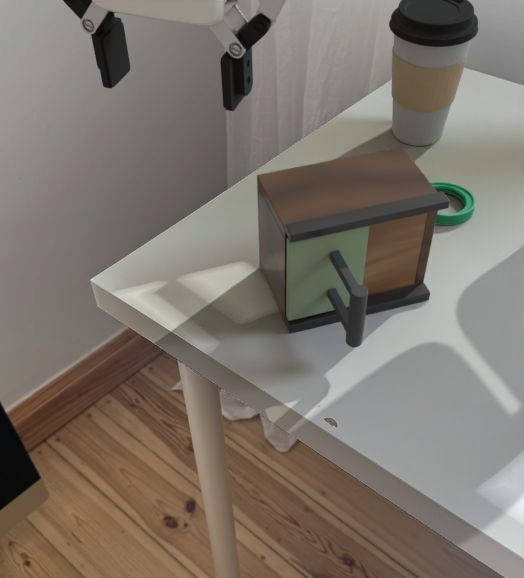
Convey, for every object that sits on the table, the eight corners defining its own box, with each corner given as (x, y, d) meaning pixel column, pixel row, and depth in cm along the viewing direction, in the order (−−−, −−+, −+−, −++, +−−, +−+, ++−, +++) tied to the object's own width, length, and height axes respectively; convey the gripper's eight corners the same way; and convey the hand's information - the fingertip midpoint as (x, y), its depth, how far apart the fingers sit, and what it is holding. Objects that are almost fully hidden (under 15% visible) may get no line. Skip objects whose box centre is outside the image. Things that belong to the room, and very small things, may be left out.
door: (387, 352, 63) (400, 274, 57) (311, 371, 62) (315, 294, 55) (357, 299, 68) (366, 220, 61) (286, 316, 67) (286, 237, 60)
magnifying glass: (470, 192, 80) (474, 179, 79) (476, 227, 76) (479, 214, 75) (332, 186, 82) (333, 173, 80) (330, 220, 78) (331, 207, 76)
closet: (429, 300, 69) (450, 200, 61) (289, 333, 67) (290, 235, 58) (388, 238, 75) (403, 140, 67) (259, 267, 73) (256, 168, 64)
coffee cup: (464, 121, 90) (491, -4, 78) (443, 162, 84) (469, 34, 73) (391, 105, 92) (406, -18, 81) (366, 144, 87) (379, 18, 75)
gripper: (310, -198, 41) (302, 84, 54) (45, -217, 45) (97, 49, 58) (263, -161, 37) (267, 138, 49) (-26, -186, 41) (47, 95, 54)
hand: (175, 90), depth 54 cm, fingers open, 9 cm apart
